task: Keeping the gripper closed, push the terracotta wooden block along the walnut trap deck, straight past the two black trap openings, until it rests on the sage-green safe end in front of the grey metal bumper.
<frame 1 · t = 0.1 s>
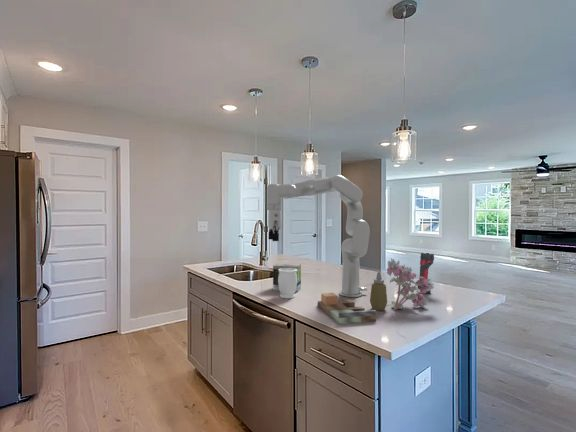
hand: (273, 240, 170), 31 cm above the countertop, tool pointing down, fingers open, 9 cm apart
flower: (410, 307, 159), on the countertop
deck: (344, 313, 149), on the countertop
flashlight: (426, 292, 190), on the countertop
squeeze bottle: (378, 309, 156), on the countertop
tea box: (287, 289, 193), on the countertop
block: (329, 302, 157), point 2 cm above the countertop, touching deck
jar: (287, 297, 176), on the countertop
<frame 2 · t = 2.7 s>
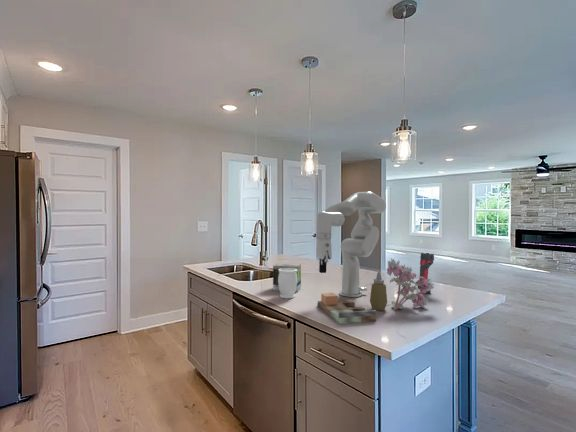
hand: (322, 272, 164), 16 cm above the countertop, tool pointing down, fingers closed
nothing on the countertop moved.
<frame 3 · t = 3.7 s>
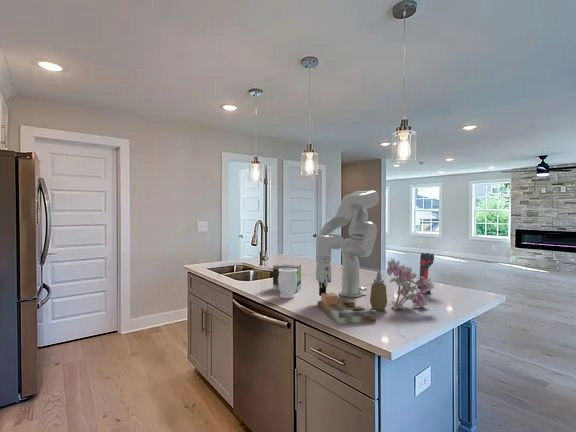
hand: (322, 295, 165), 4 cm above the countertop, tool pointing down, fingers closed
nothing on the countertop moved.
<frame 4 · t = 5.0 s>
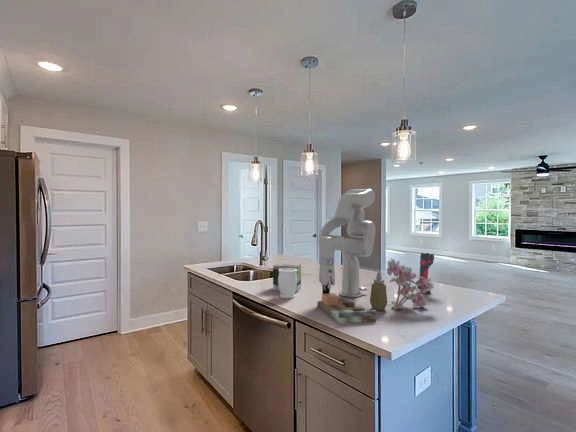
hand: (325, 298, 161), 4 cm above the countertop, tool pointing down, fingers closed
block: (330, 303, 156), point 2 cm above the countertop, touching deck, gripper
everything else where it was.
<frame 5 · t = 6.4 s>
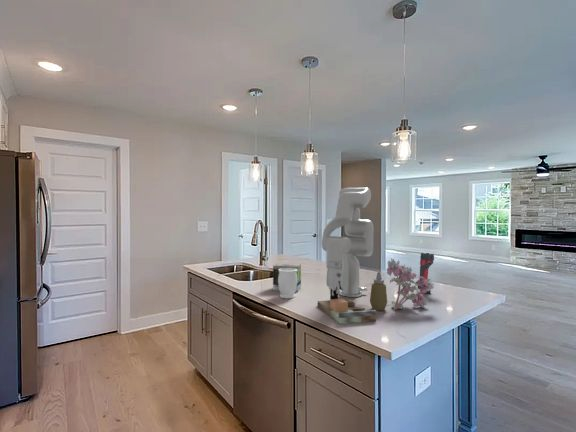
hand: (334, 303, 151), 4 cm above the countertop, tool pointing down, fingers closed
block: (338, 309, 146), point 3 cm above the countertop, touching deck, gripper
everything else where it was.
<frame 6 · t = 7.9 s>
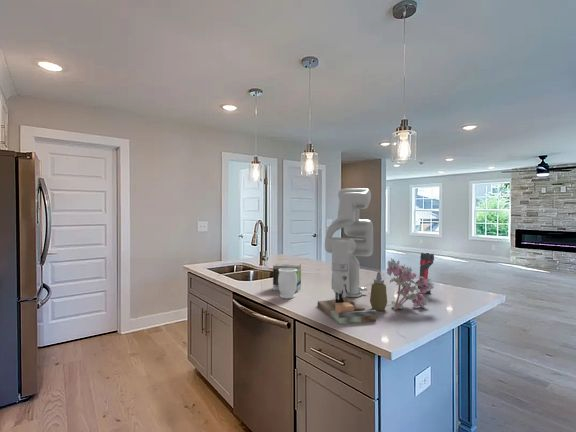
hand: (339, 307, 145), 4 cm above the countertop, tool pointing down, fingers closed
block: (344, 313, 140), point 2 cm above the countertop, touching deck, gripper
everything else where it was.
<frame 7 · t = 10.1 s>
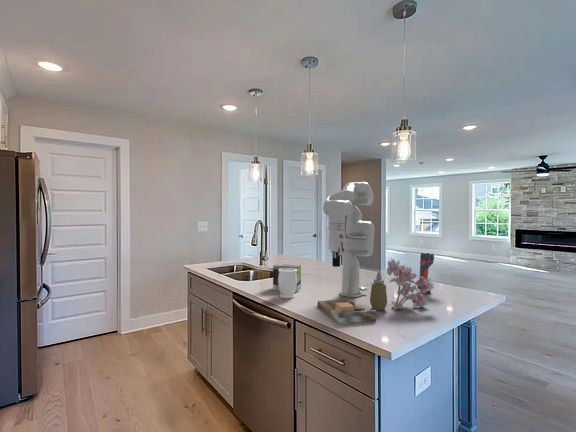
hand: (336, 266, 151), 21 cm above the countertop, tool pointing down, fingers closed
block: (344, 313, 140), point 2 cm above the countertop, touching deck
everything else where it was.
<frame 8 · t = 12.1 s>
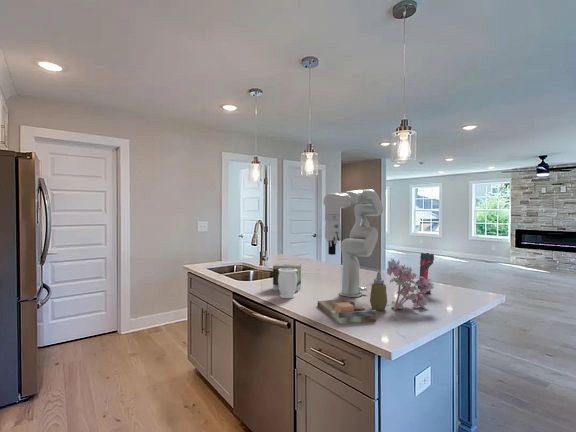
hand: (331, 254, 163), 25 cm above the countertop, tool pointing down, fingers closed
nothing on the countertop moved.
at the end: block 0.3 cm from the target spot on the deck, point 2.5 cm above the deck's base; block tilted 0°; block moved 17.1 cm from its start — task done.
